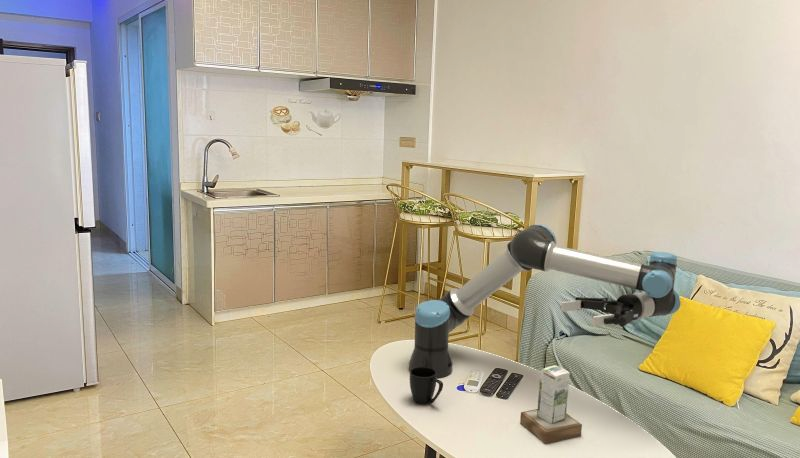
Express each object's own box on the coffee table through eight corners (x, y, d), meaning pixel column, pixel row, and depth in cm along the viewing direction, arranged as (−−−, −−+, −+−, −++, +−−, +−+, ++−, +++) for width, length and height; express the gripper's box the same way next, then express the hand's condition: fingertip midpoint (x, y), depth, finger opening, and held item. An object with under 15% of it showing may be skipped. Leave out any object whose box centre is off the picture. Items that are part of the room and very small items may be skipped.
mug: (430, 414, 179) (431, 384, 177) (403, 399, 188) (404, 370, 186) (449, 406, 184) (451, 377, 182) (423, 392, 193) (423, 364, 191)
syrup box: (550, 411, 175) (553, 363, 172) (566, 419, 170) (570, 371, 167) (536, 416, 172) (539, 368, 169) (552, 425, 167) (556, 375, 164)
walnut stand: (520, 423, 175) (521, 411, 174) (554, 416, 179) (555, 404, 179) (545, 444, 164) (546, 431, 163) (581, 436, 169) (582, 423, 168)
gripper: (665, 332, 171) (606, 341, 163) (604, 306, 193) (549, 313, 185) (668, 306, 169) (608, 314, 161) (606, 283, 192) (551, 289, 184)
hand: (577, 313), depth 173 cm, fingers open, 13 cm apart
